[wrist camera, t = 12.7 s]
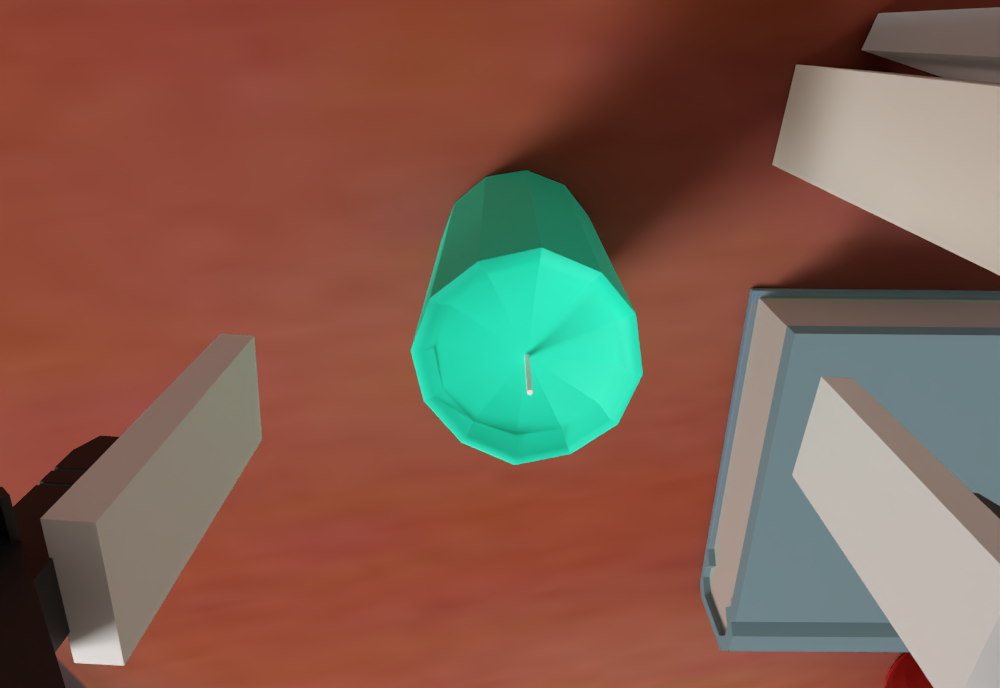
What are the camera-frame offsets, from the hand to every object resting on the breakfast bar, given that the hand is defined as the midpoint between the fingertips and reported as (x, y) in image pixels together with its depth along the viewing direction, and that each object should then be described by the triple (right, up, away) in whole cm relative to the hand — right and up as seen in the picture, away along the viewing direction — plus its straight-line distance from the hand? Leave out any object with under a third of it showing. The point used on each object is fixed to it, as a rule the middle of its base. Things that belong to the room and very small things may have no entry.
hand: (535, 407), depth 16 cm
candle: (0, +5, +11) cm, 12 cm away
